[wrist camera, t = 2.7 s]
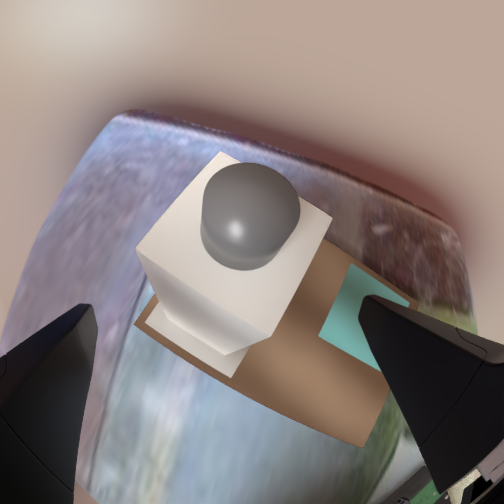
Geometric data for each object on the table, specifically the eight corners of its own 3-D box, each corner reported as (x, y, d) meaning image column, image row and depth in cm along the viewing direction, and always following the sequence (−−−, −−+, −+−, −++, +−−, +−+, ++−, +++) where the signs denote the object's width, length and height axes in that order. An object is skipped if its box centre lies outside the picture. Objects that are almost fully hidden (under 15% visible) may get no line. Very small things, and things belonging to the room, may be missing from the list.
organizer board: (353, 445, 16) (362, 448, 15) (137, 327, 17) (133, 324, 16) (409, 306, 21) (419, 303, 20) (234, 194, 22) (237, 185, 21)
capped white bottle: (224, 355, 16) (290, 328, 5) (167, 318, 16) (123, 220, 6) (258, 300, 18) (356, 190, 7) (203, 266, 18) (226, 115, 7)
